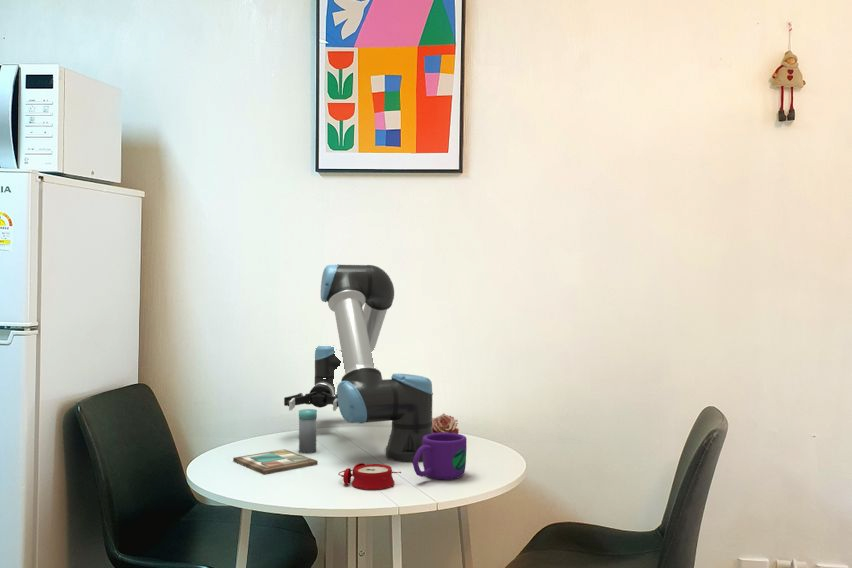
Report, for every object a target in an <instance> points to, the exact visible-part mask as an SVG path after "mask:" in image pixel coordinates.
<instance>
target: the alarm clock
mask: <svg viewBox="0 0 852 568" xmlns="http://www.w3.org/2000/svg"><path fill="white" fill-rule="evenodd" d="M392 469H393V468H392V467H391V466H390V465H387V464H383V463H382V464H381V463H380V464H379V463H371V464H370V463H369V464H367V463H366V464H365V463H363V462H358V463H356V464H355V465H354V466H353V467H352V468H351V467H347V468H345V469H344V470H342V471H339V472H338V474H337V475H338V476H340V478H343V480H342V481H343V484H344V485H345V486H349V484H351V485H352V487H353V488H355V489H359V490H367V491H368V490H370V491H371V490H373V491H375V490H384V489H385V490H386V489H388V488H394V487H395V480H394V478H393V474H402V471H393V470H392ZM342 473H343V474H342ZM352 477H353V479H352Z"/></svg>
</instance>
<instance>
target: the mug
mask: <svg viewBox="0 0 852 568" xmlns="http://www.w3.org/2000/svg"><path fill="white" fill-rule="evenodd" d="M422 452H423V461H422V465H423V470H421V467H420V466H419V465H420V464H419V462H420V461H419V459H420V456H421V454H422ZM412 465H413V471H414V472H415V474H416V475H417V476H419V477H428V478H430V479H433V480H440V481H441V480H442V481H443V480H444V481H449V480H450V481H451V480H457V479H458V478H461V477H462V476H463V475H464V474H465V472H466V471H465V469H466V466H467V437H466V436H465V435H463V434H460V433H458V434H456V433H432V434H428V435H425V436H424V437H423V440H422V446H421V447H420V448H419V449H418V450H417V452H416V454H415V456H414V459H413V462H412Z"/></svg>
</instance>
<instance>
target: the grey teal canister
mask: <svg viewBox="0 0 852 568" xmlns="http://www.w3.org/2000/svg"><path fill="white" fill-rule="evenodd" d="M317 412H318V411H317V409H311V408H306V409H305V408H304V409H299V410H298V453H299V454H314V453H317V418H318V417H317V415H318V414H317Z"/></svg>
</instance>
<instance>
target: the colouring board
mask: <svg viewBox="0 0 852 568" xmlns="http://www.w3.org/2000/svg"><path fill="white" fill-rule="evenodd" d="M233 461H235V462H234V463H236V462H237V463H236V464H238V463H239V465H240V466H243V467H245V466H246V468H248V469H251V470H253V471H255V472H257V473H260V474H263V476H264V475H265V476H266V475H269V474H274V473H279V472H286V471H290V470H296V469H300V468H301V469H302V468H306V467H312V466H316V465H317V466H318V459H317V460H316V459H314V458H311V457H308V456H305V455H302V454H301V453H296V452H293V451H290V450H287V449H278V450H272V451H266V452H259V453H254V454H249V455H248V454H247V455H242V456H235V457H232V462H233Z"/></svg>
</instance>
